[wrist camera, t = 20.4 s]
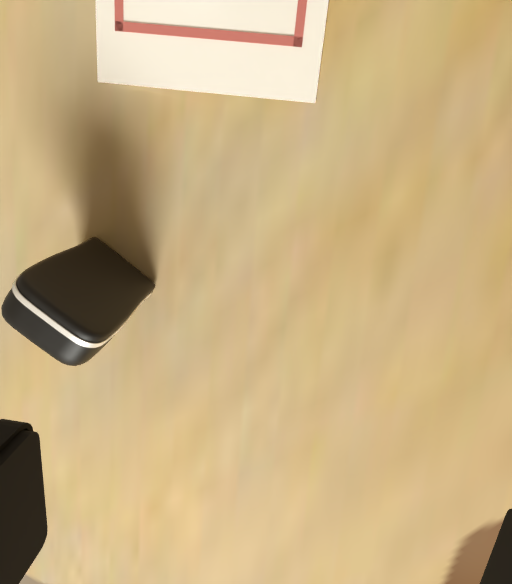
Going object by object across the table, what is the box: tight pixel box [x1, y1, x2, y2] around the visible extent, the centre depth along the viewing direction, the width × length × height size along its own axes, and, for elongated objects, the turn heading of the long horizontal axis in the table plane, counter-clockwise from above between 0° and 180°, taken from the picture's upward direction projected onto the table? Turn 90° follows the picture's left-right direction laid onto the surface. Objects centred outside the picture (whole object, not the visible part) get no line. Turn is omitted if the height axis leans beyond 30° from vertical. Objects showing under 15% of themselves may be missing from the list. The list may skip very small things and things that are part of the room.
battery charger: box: [1, 237, 155, 366], centre depth 33 cm, size 7×4×11 cm, turn 51°
